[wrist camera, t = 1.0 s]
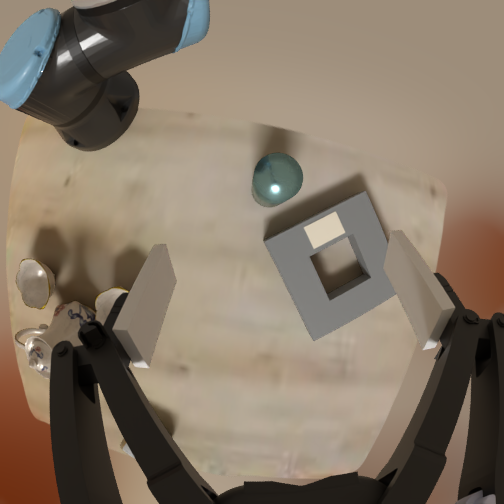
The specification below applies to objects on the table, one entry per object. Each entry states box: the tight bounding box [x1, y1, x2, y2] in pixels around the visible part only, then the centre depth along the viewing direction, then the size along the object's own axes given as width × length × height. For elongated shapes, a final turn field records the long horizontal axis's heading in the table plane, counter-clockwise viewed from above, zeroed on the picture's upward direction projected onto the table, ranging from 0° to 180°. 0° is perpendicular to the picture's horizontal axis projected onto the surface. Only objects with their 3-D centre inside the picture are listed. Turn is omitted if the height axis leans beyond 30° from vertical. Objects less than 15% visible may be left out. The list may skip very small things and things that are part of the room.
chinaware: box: [15, 259, 129, 379], centre depth 34 cm, size 28×17×17 cm, turn 82°
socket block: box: [263, 191, 396, 341], centre depth 40 cm, size 16×16×3 cm
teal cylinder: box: [252, 153, 303, 207], centre depth 34 cm, size 5×5×12 cm
